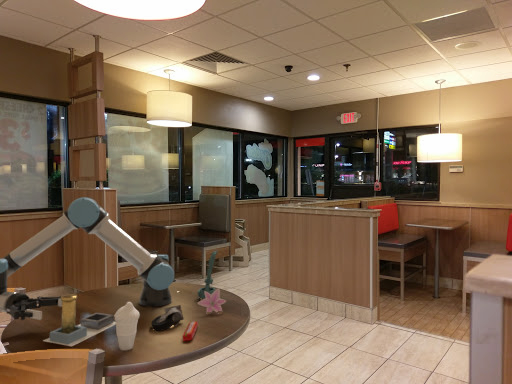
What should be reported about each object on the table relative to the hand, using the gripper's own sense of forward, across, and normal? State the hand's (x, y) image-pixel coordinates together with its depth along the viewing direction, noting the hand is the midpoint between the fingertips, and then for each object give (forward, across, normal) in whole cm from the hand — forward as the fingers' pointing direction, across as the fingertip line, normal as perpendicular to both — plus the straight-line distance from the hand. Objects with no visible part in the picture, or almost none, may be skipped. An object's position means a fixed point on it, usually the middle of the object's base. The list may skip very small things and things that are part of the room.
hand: (57, 309), depth 131 cm
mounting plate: (+5, -7, -11) cm, 14 cm away
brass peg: (+5, 0, -10) cm, 11 cm away
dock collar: (+5, 0, -10) cm, 11 cm away
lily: (+40, -47, -11) cm, 62 cm away
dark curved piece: (+29, -63, -11) cm, 71 cm away
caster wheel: (+30, -24, -11) cm, 40 cm away
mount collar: (+5, -14, -10) cm, 18 cm away
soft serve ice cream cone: (+28, -3, -11) cm, 30 cm away
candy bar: (+43, -21, -11) cm, 49 cm away
